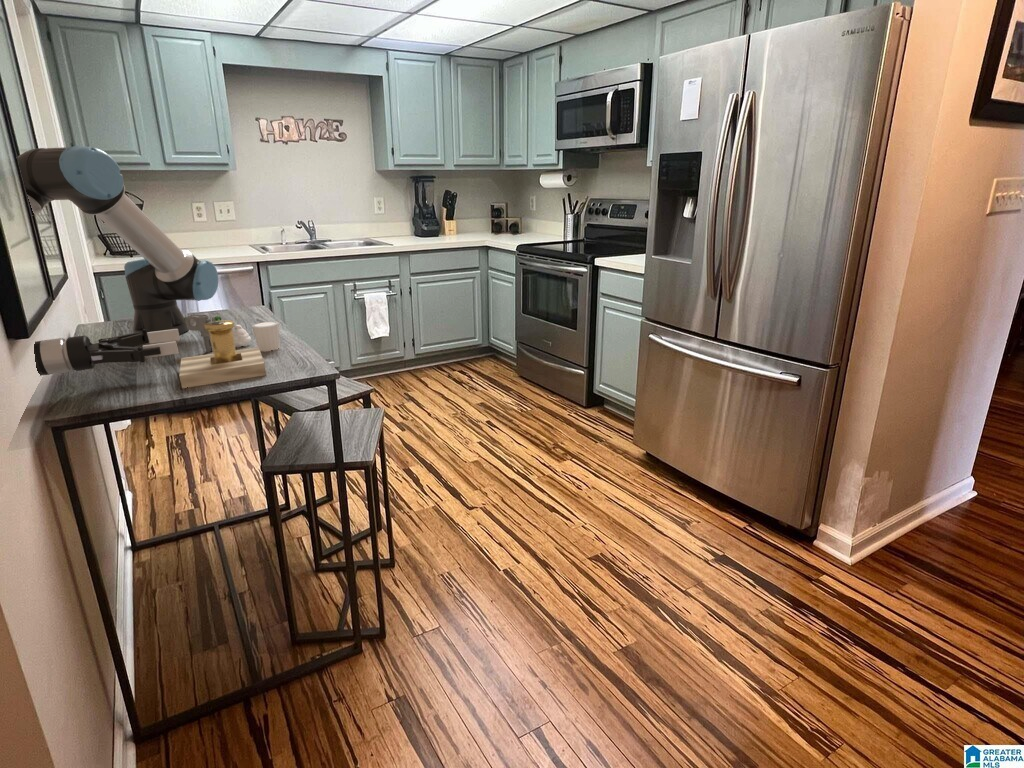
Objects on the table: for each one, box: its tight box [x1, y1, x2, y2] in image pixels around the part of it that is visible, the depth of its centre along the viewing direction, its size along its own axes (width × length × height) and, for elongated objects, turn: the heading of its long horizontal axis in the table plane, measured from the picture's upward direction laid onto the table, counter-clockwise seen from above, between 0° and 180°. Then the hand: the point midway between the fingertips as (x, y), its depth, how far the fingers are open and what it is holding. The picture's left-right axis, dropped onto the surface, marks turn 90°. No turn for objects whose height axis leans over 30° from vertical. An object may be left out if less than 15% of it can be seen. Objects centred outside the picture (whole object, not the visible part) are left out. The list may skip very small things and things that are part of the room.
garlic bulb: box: [232, 324, 252, 348], centre depth 169 cm, size 6×6×5 cm
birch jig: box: [178, 346, 267, 389], centre depth 145 cm, size 16×18×3 cm
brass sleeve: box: [204, 319, 238, 364], centre depth 145 cm, size 6×6×12 cm
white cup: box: [251, 321, 281, 352], centre depth 164 cm, size 7×7×7 cm
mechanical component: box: [184, 314, 222, 353], centre depth 162 cm, size 3×10×10 cm, turn 79°
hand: (178, 340), depth 140 cm, fingers open, 13 cm apart
